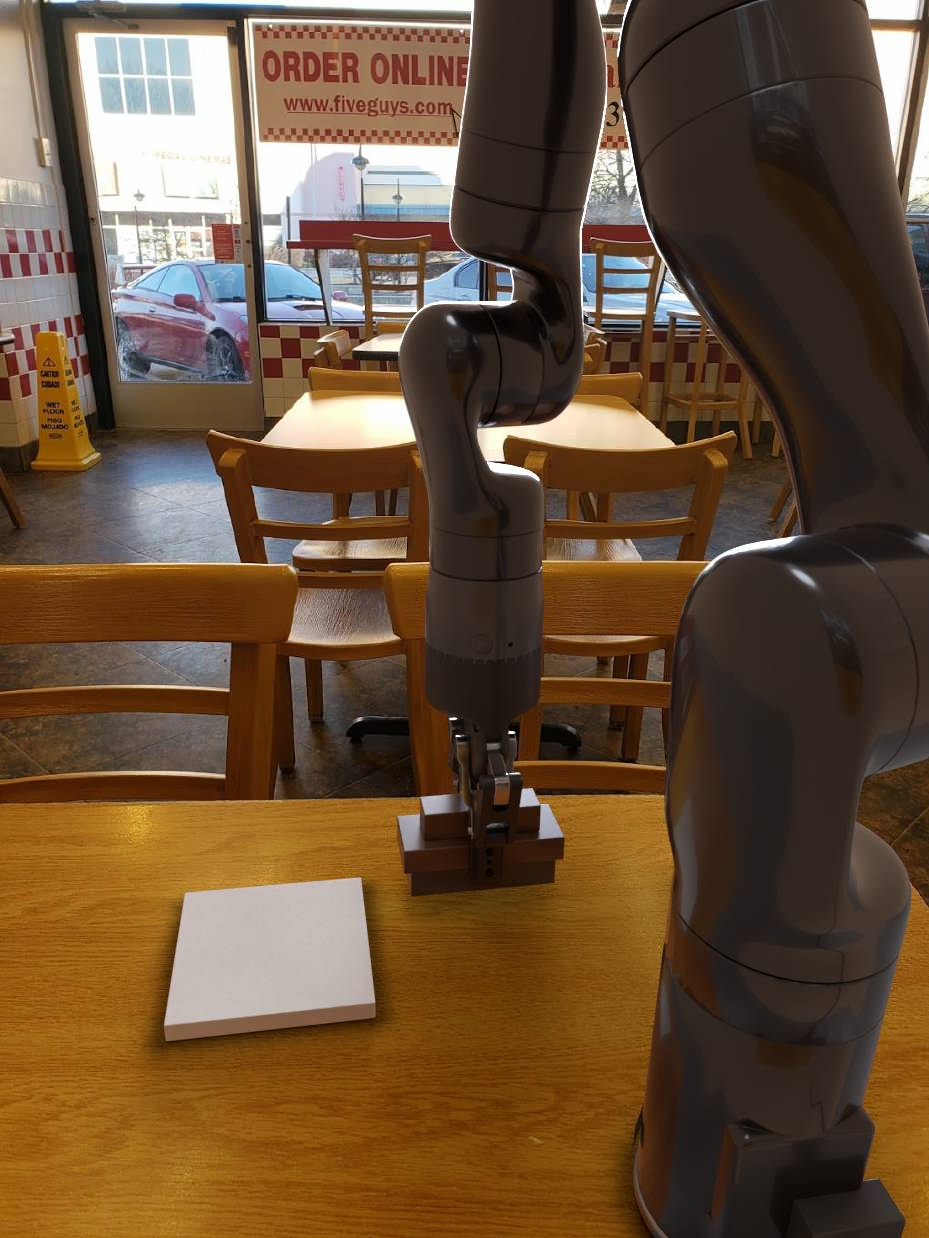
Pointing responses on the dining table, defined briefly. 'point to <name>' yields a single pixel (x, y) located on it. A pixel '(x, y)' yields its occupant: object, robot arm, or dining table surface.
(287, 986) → the tile
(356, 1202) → the dining table surface
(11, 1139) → the dining table surface
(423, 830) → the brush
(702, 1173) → the robot arm
